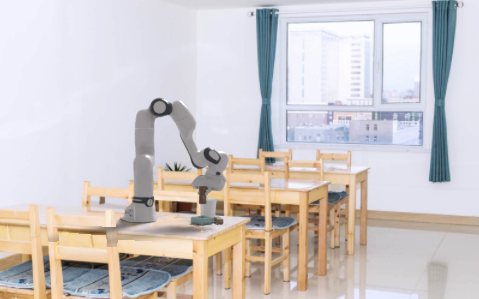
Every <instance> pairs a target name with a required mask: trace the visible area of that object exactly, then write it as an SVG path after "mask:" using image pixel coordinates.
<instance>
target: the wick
mask: <svg viewBox="0 0 479 299" xmlns="http://www.w3.org/2000/svg"><path fill="white" fill-rule="evenodd" d="M214 221H215V222H214ZM213 222H214V223H216V224H217V223H218V225H224V218H222V217H221V216H215V217H214V220H213Z"/></svg>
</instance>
